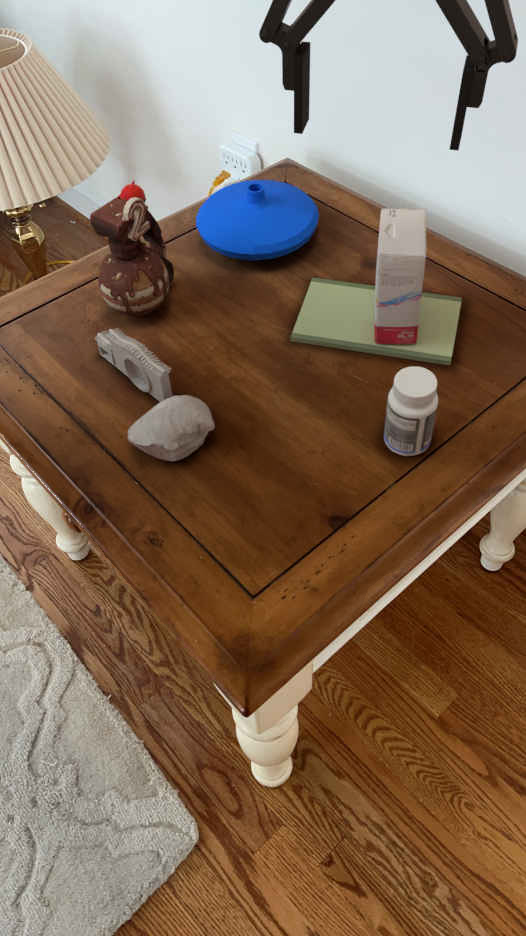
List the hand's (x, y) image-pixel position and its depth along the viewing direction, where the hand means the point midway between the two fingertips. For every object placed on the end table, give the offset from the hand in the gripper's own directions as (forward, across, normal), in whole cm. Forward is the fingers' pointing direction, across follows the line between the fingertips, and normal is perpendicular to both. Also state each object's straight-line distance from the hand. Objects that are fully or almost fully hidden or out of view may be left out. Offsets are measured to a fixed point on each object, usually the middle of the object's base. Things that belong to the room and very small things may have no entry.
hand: (377, 134), depth 65 cm
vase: (+24, +16, -17) cm, 34 cm away
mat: (+24, -2, -4) cm, 25 cm away
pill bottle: (+24, -8, +13) cm, 29 cm away
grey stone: (+25, +16, +18) cm, 35 cm away
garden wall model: (+25, +23, +11) cm, 35 cm away
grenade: (+25, +26, -1) cm, 36 cm away
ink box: (+24, -3, -4) cm, 24 cm away
